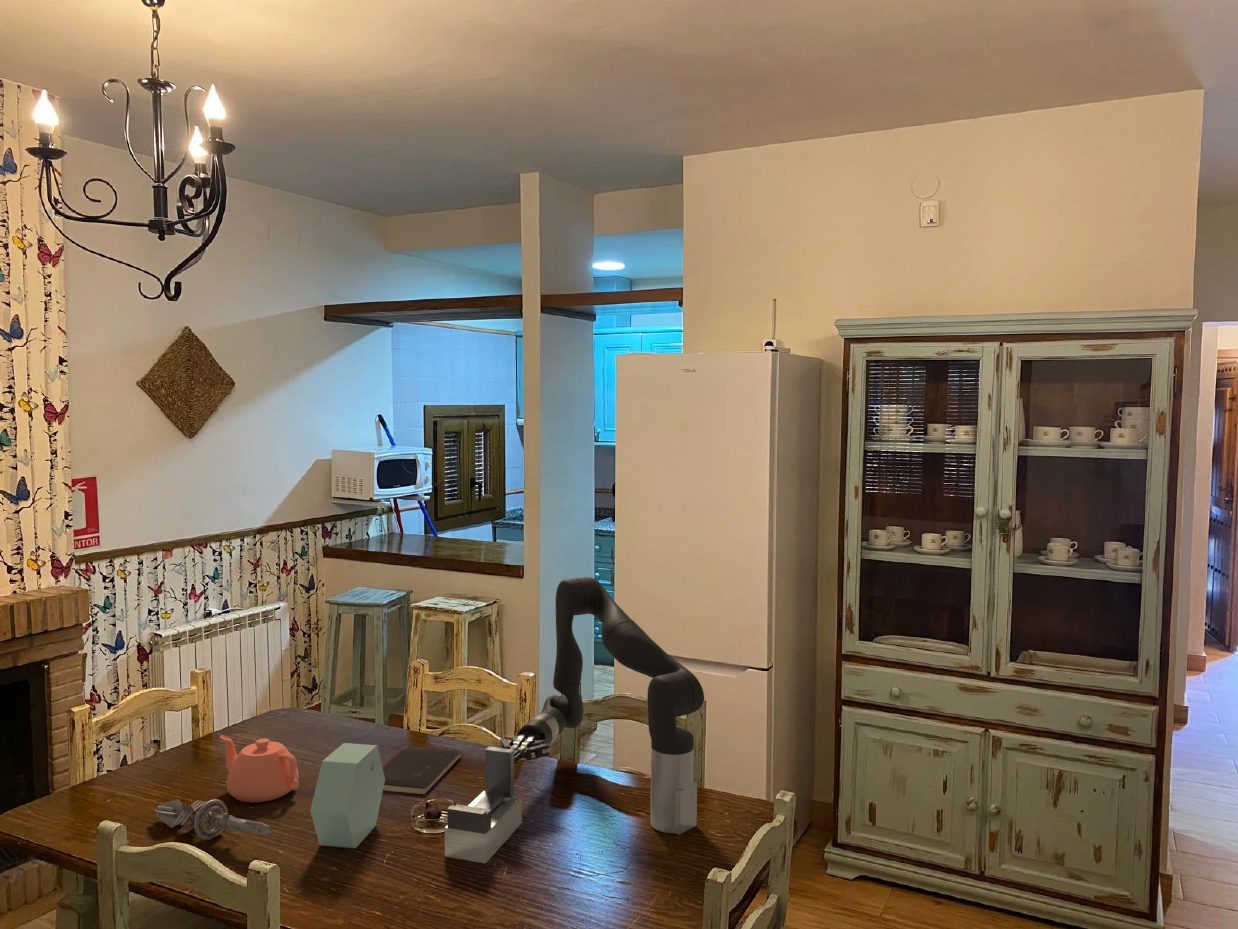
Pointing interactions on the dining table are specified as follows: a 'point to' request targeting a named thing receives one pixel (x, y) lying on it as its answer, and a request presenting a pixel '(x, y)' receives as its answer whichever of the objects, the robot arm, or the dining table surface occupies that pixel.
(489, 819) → the white rectangular holder
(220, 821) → the spaceship
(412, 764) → the hardcover book
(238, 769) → the teapot
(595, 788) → the dining table surface
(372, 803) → the mint hexagonal prism
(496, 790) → the dark grey tapered block
